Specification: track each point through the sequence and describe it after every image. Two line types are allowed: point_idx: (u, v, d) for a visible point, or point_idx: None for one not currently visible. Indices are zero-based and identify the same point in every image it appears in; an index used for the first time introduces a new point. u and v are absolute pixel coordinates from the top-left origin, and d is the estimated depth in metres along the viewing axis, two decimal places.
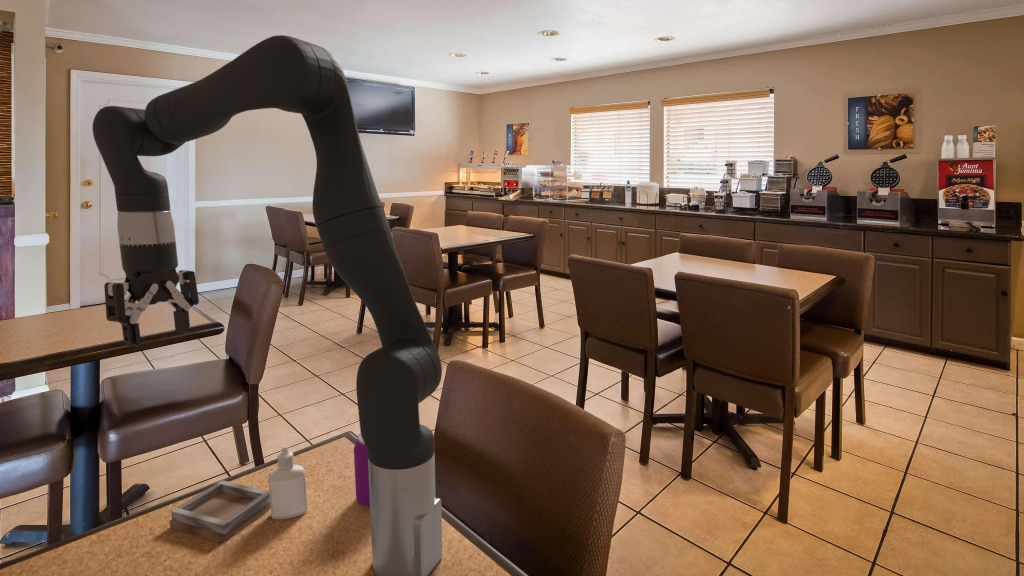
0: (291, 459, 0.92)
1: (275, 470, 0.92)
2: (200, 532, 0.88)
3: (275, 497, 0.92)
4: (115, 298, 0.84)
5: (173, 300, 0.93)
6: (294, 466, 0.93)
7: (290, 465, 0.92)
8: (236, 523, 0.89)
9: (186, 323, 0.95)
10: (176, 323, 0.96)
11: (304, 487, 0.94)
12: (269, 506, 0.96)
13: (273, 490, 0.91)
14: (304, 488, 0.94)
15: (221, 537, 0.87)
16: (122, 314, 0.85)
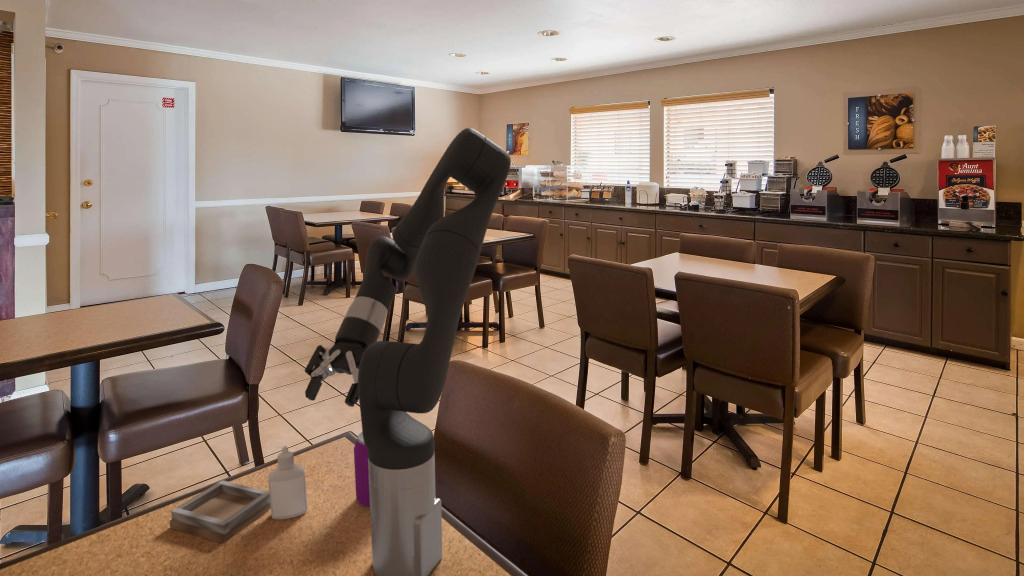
0: (291, 459, 0.92)
1: (275, 470, 0.92)
2: (200, 532, 0.88)
3: (275, 497, 0.92)
4: None
5: (330, 372, 1.07)
6: (294, 466, 0.93)
7: (290, 465, 0.92)
8: (236, 523, 0.89)
9: None
10: (312, 389, 1.04)
11: (304, 487, 0.94)
12: (269, 506, 0.96)
13: (273, 490, 0.91)
14: (304, 488, 0.94)
15: (221, 537, 0.87)
16: None
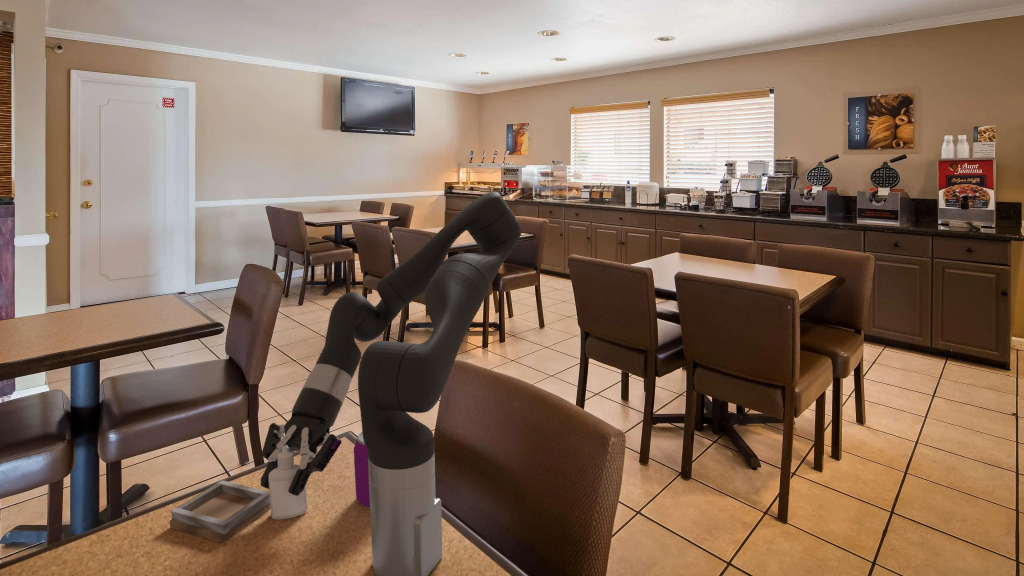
0: (291, 459, 0.92)
1: (275, 470, 0.92)
2: (200, 532, 0.88)
3: (275, 497, 0.92)
4: (334, 452, 0.95)
5: None
6: (294, 466, 0.93)
7: (290, 465, 0.92)
8: (236, 523, 0.89)
9: None
10: None
11: None
12: (269, 506, 0.96)
13: (273, 490, 0.91)
14: (304, 488, 0.94)
15: (221, 537, 0.87)
16: None
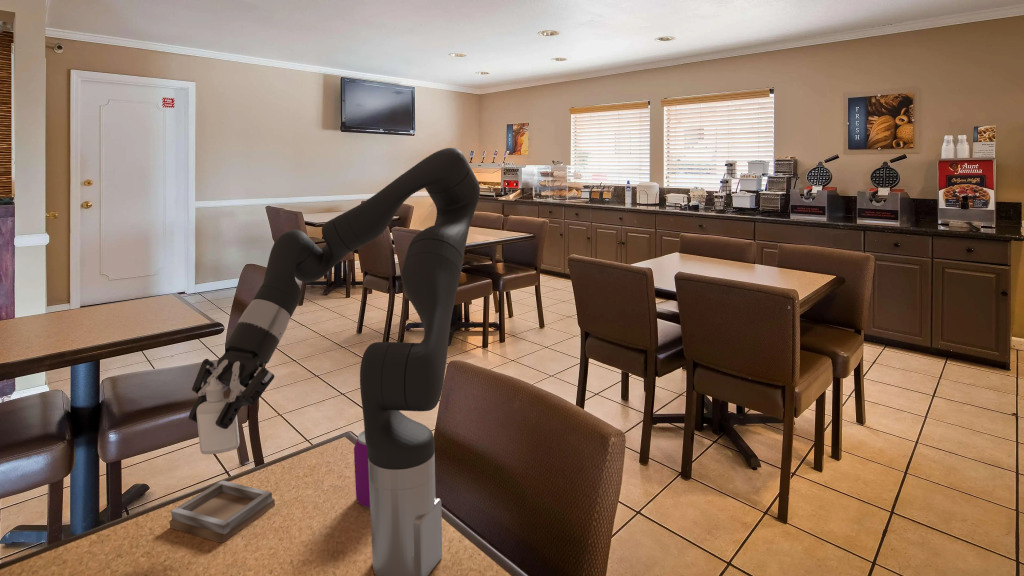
0: (220, 392, 0.89)
1: (204, 403, 0.89)
2: (200, 532, 0.88)
3: (203, 431, 0.89)
4: (266, 386, 0.92)
5: None
6: (224, 400, 0.90)
7: (219, 398, 0.89)
8: (236, 523, 0.89)
9: None
10: None
11: (235, 422, 0.91)
12: (269, 506, 0.96)
13: (200, 423, 0.89)
14: (235, 423, 0.91)
15: (221, 537, 0.87)
16: None
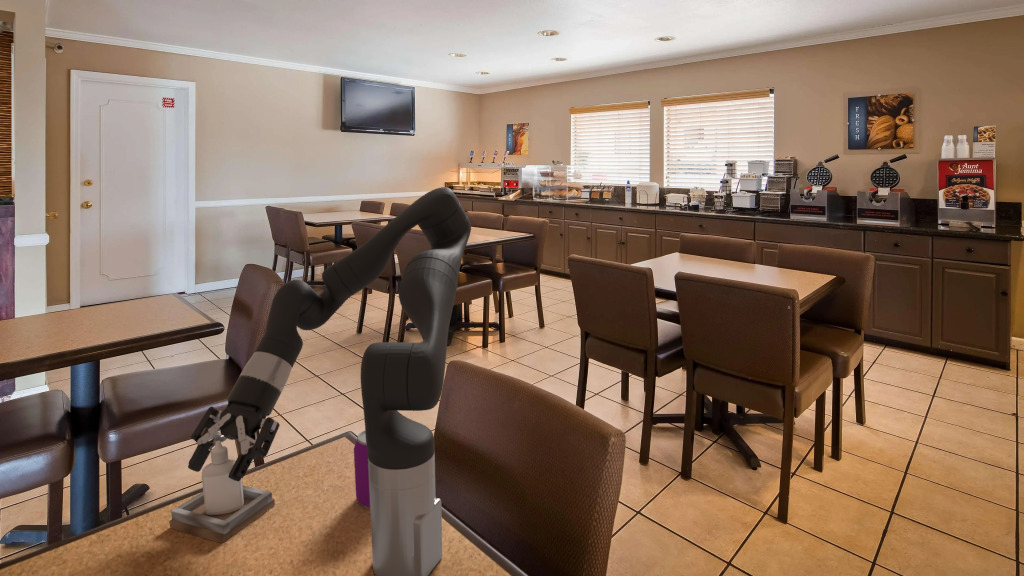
0: (225, 454, 0.91)
1: (208, 465, 0.91)
2: (200, 532, 0.88)
3: (208, 493, 0.91)
4: (274, 435, 0.93)
5: (220, 438, 0.95)
6: (228, 461, 0.92)
7: (224, 460, 0.91)
8: (236, 523, 0.89)
9: None
10: (197, 459, 0.92)
11: (239, 482, 0.93)
12: (269, 506, 0.96)
13: (206, 485, 0.90)
14: (239, 483, 0.93)
15: (221, 537, 0.87)
16: None
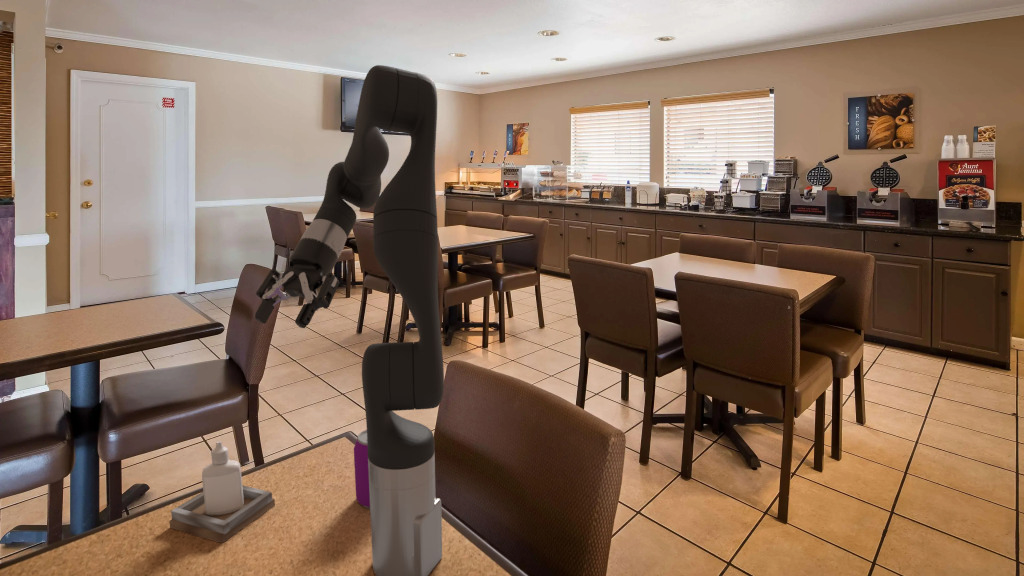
0: (225, 454, 0.91)
1: (209, 466, 0.91)
2: (200, 532, 0.88)
3: (209, 493, 0.91)
4: (335, 290, 0.99)
5: (283, 295, 1.01)
6: (229, 461, 0.92)
7: (224, 460, 0.91)
8: (236, 523, 0.89)
9: None
10: (263, 311, 0.98)
11: (239, 482, 0.93)
12: (269, 506, 0.96)
13: (206, 485, 0.90)
14: (239, 483, 0.93)
15: (221, 537, 0.87)
16: None
